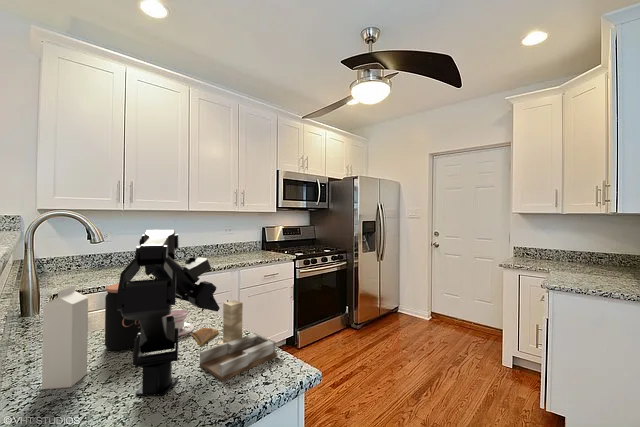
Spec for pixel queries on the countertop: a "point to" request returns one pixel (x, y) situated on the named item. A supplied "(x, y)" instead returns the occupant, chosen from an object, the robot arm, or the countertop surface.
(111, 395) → the countertop surface
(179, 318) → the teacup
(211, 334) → the folded crepe
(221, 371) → the grey brown open tray
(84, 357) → the milk
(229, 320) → the beech peg
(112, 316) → the coffee jar
